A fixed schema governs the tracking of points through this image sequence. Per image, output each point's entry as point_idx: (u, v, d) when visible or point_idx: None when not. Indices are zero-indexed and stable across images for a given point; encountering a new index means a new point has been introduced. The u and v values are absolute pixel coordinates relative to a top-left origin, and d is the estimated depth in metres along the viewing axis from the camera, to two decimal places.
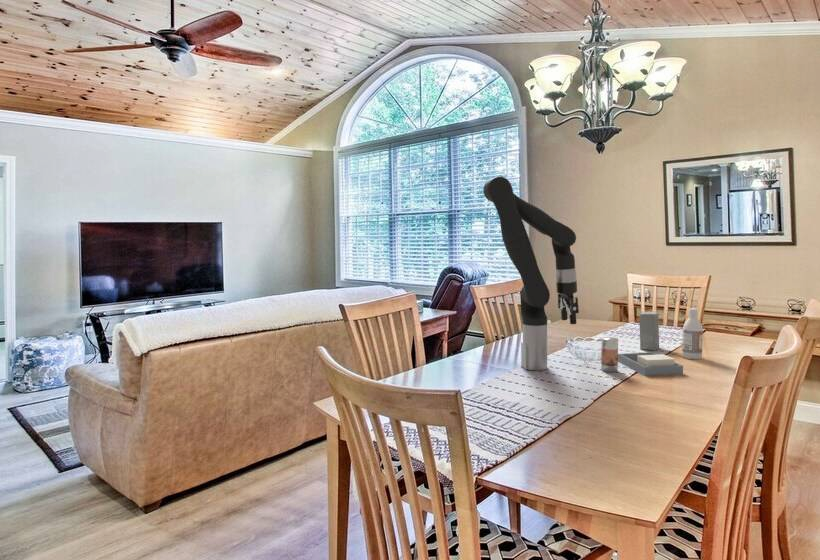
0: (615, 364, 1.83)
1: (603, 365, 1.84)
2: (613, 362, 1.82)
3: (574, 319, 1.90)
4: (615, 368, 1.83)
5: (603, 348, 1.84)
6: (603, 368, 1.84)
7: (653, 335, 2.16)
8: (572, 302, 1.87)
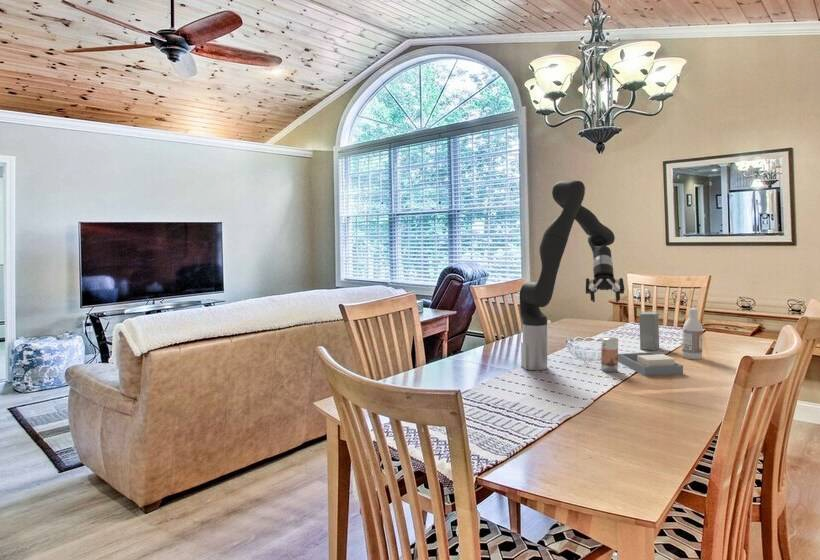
0: (615, 364, 1.83)
1: (603, 365, 1.84)
2: (613, 362, 1.82)
3: (619, 297, 1.95)
4: (615, 368, 1.83)
5: (603, 348, 1.84)
6: (603, 368, 1.84)
7: (653, 335, 2.16)
8: (622, 281, 1.98)
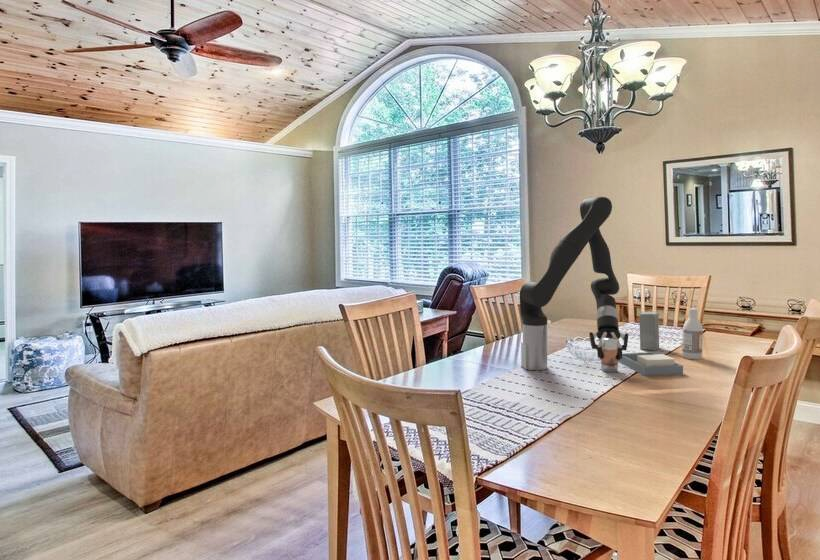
0: (615, 364, 1.82)
1: (603, 365, 1.84)
2: (613, 362, 1.82)
3: (621, 354, 1.83)
4: (615, 368, 1.83)
5: (603, 348, 1.84)
6: (603, 368, 1.84)
7: (653, 335, 2.16)
8: (627, 338, 1.86)
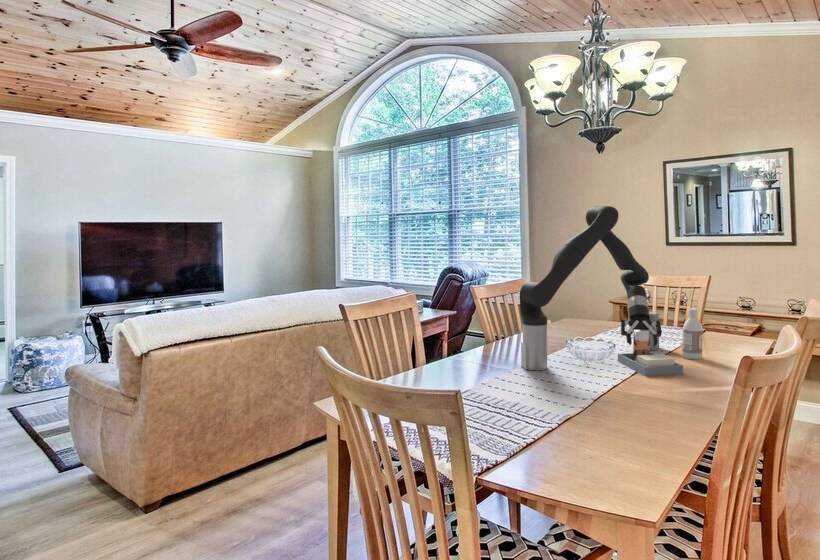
0: (647, 354, 1.91)
1: (635, 356, 1.92)
2: (645, 353, 1.90)
3: None
4: None
5: (635, 339, 1.92)
6: (635, 358, 1.92)
7: None
8: (659, 324, 1.94)
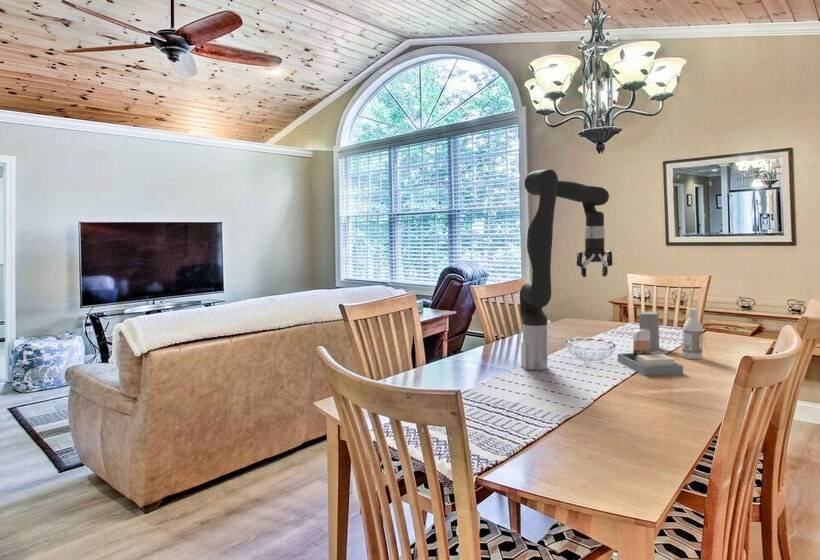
0: (647, 354, 1.91)
1: (635, 356, 1.92)
2: (645, 353, 1.90)
3: None
4: None
5: (635, 339, 1.92)
6: (635, 358, 1.92)
7: (653, 335, 2.16)
8: None
